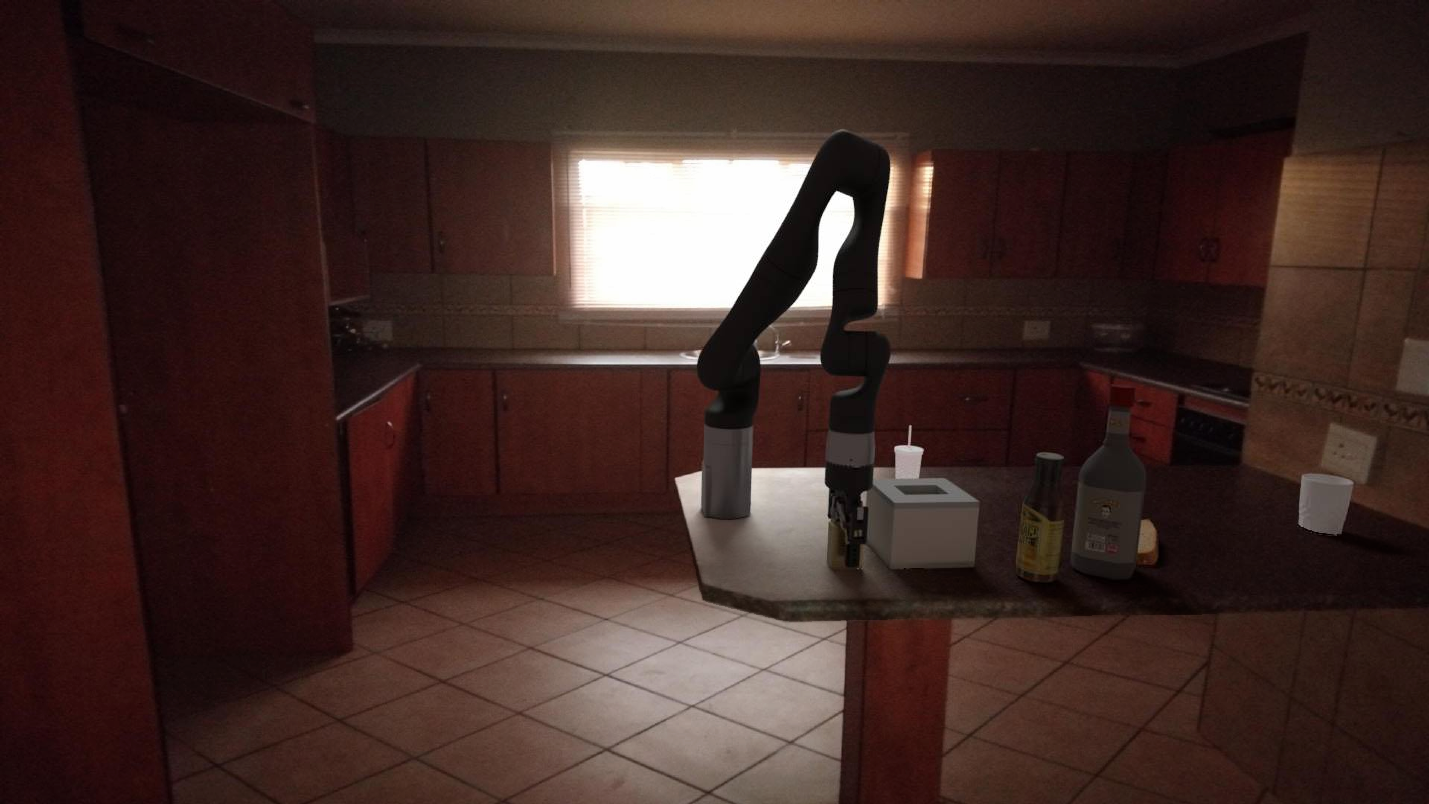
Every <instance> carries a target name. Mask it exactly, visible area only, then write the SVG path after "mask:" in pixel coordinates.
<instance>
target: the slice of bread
mask: <svg viewBox="0 0 1429 804" xmlns="http://www.w3.org/2000/svg"><path fill="white" fill-rule="evenodd" d="M1159 554H1160V553H1159V535H1158V531H1157V529H1156V526H1155V525H1154V523H1153V522H1152V521H1151V520H1150V519H1149V518H1148V519H1141V528H1140V536H1139V545H1138V553H1137V562H1136V564H1137V565H1136V566H1139V565H1153V564H1154V563H1157V562H1158V560H1159ZM1157 559H1158V560H1157ZM1156 561H1157V562H1156Z"/></svg>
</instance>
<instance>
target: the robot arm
mask: <svg viewBox="0 0 1429 804" xmlns="http://www.w3.org/2000/svg"><path fill="white" fill-rule="evenodd" d="M890 179H891V158H890V155H889V152H888V150H887V149H885V147H884V146H882V145H880V144H878V143H877V142H875V141H873V140H871V139H869V138H866V137H864V136H863V135H862V136H861V135H860V134H857V133H855V132H853V131H851V130H847V129H838V130H836V131H834V132H832V133H831V134H830V135H829V136H828V137H827V138H826V139H825V141H823V143H822V144H821V146H820V147H819V150H818V151H817V153H816V155H815V157H814V159H813V160H812V163H811V164H810V166H809V169H808V171H807V173H806V175H805V177H804V180H803V182H802V184H801V185H800V188H799V190H798V193H797V194H796V196H795V198H794V201H793V203H792V205H791V206H790V208H789V210H788V212H787V213H786V215H785V217H784V219H783V221H782V222H781V224H780V226H779V228H778V230H777V231H776V233H775V235H774V236H773V238H772V239H771V241H770V243H769V244H768V246H766V249H765V250H764V251H763V254H762V256H760V259H759V261H758V262H757V264H756V265H755V267H754V269H753V271H752V273H751V275H750V277H749V278H748V280H747V282H746V284H744V287H743V289H742V290H741V292H740V293H739V295H738V296H737V298H736V300H735V301H734V303H733V305H732V307H731V309H730V310H729V312H728V313H727V315H725V317H724V319H723V321H722V322H721V323H720V324H719V326H718V327H717V328H716V330H715V331H714V332H713V333H712V334H711V336H710V338H709V339H708V340H707V342H705V344H704V346H703V347H702V348H701V350H700V352H699V355H698V357H697V362H696V373H697V378H698V380H699V382H700V383H701V384H702V385H703V387H705V388H706V389H708V390H712V391H717V394H716V396H715V399H714V400H713V401H712V403H711V404H710V405H709V406H708V407H707V408H706V409H705V411H704V428H703V429H704V430H703V435H704V436H703V460H701V489H700V490H701V496H700V499H701V501H700V506H701V507H700V508H701V511H702V513H703V516H704V517H706V518H708V517H709V518H715V519H721V520H722V519H723V520H724V519H725V520H731V519H732V520H734V519H741V518H745V517H747V516H749V515H750V514H751V506H752V477H753V476H752V475H753V474H752V470H753V469H752V468H753V443H754V441H753V440H754V436H753V435H754V420H755V419H754V418H755V415H756V413H757V410H758V406H759V398H760V388H761V387H760V386H761V374H762V373H761V372H762V371H761V368H762V367H761V366H762V365H761V357H760V354H759V350H758V349H757V348H756V346H755V342H756V340H758V338H759V337H760V335H761V334H762V333H763V332H764V331H765V330H767V329H768V327H770V326H771V325H772V324H773V323H775V321H776V320H777V321H778V319H779V318H780V317H781V316H783V314H784V313H786V312H787V311H788V310H789V309H790V308H791V307H793V305H794V304H795V303H796V301H797V300H798V299H799V297H800V296H801V294H802V293H803V291H804V290H805V288H806V286H807V285H808V284H809V281H810V280H811V279H812V277H813V276H814V273H815V271H816V269H817V266H818V262H819V249H820V248H819V246H820V245H819V243H820V240H819V238H820V237H819V234H820V224H821V221H822V217H823V215H824V213H825V210H826V209H827V207H828V205H829V203H830V201H831V200H832V198H833V196H834V195H835V194H836V193H840V194H842V195H845V196H848V197H849V198H852V201H853V212H854V213H853V222H852V226H851V228H850V230H849V233H848V234H847V236H846V238H845V239H844V241H843V243H842V244H841V246H840V247H839V250H838V251H837V254H836V256H835V259H834V263H833V268H832V293H831V294H832V298H831V299H832V300H831V301H832V302H831V311H830V318H829V323H828V326H827V329H826V332H825V335H824V338H823V342H822V344H821V348H820V353H819V354H820V355H819V359H820V364H821V367H822V368H823V370H824V372H825V373H827V374H828V375H829V376H833V377H860V378H864V379H863V380H862V382H861V383H860V384H859V385H858V386H857V387H853V388H851V389H845V390H840V391H837V392H835V393H833V394H832V395H831V397H830V400H829V401H830V402H829V415H828V417H829V418H828V432H827V436H826V437H827V438H826V446H825V466H824V467H825V468H824V485H825V487H827V488H828V503H827V504H828V505H827V518H828V520H830V521H829V522H839V521H840V525H841V529H842V530H843V531H844V532H845V542H846V543H845V562H844V564H845V566H846V567H848V568H854V567H858V566H859V563H860V546H861V544H863V546H865V545H867V527H868V512H869V510H868V507H867V506H866V505H864V502H863V500H862V494H863V493H865V492H867V491H868V490H870V489H871V488H872V486H873V479H874V469H875V468H874V467H875V452H876V451H875V450H876V443H875V441H876V440H875V424H876V423H875V422H876V421H875V420H876V408H877V401H878V398H879V393H880V389H881V386H882V382H883V380H884V377H885V375H886V372H887V369H888V366H889V363H890V359H891V355H892V349H891V343H890V341H889V339H888V337H887V335H886V334H884V333H882V332H881V331H876V330H875V331H874V330H845V327H846V326H847V325H849V324H850V323H854V322H857V321H863V320H867V319H870V318H872V317H874V316H875V315H876V313H877V312H878V309H879V253H880V250H879V249H880V243H881V236H882V229H883V223H884V217H885V211H886V205H887V199H888V198H887V197H888V193H889V192H888V191H889V185H890ZM848 523H850V524H848ZM855 531H857V537H854V535H855Z"/></svg>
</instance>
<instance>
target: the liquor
mask: <svg viewBox="0 0 1429 804" xmlns="http://www.w3.org/2000/svg"><path fill="white" fill-rule="evenodd" d="M1108 389H1109V390H1108V397H1107V398H1108V399H1107V405H1108V406H1109V407H1108V413H1107V414H1108V417H1107V424H1106V431H1105V433H1106V434H1105V438H1104V440H1103V441H1102V442H1103V445H1101V446H1100V447H1099V448H1098V449H1097V450H1096V451H1095V452H1094V453H1093V454H1091V455H1090V456H1089V457H1088V458H1087V459H1086V461H1085V462H1084V463H1083V464H1082V466H1081V468H1080V470H1079V474H1078V483H1077V492H1076V493H1077V494H1076V502H1075V503H1076V504H1075V511H1074V512H1075V513H1074V522H1073V532H1072V542H1071V543H1072V544H1071V552H1070V562H1069V563H1070V564H1071V567H1072V568H1073V569H1074V570H1076V571H1078V572H1080V573H1082V574H1085V575H1089V576H1095V577H1098V578H1099V577H1100V578H1105V579H1110V580H1113V581H1118V580H1119V581H1120V580H1130V579H1131V577H1132V576H1133V574H1134V572H1135V569H1136V567H1137V565H1136V562H1137V553H1138V545H1139V536H1140V528H1141V520H1143V519H1142V516H1143V510H1144V499H1145V492H1146V484H1147V483H1146V482H1147V476H1148V474H1147V470H1146V467H1145V465H1144V464H1143V463H1142V461H1141V460H1140V459H1139V458H1138V456H1137V455H1136V454H1135V452H1134V451H1133V450H1132V448H1131V447H1130V440H1129V431H1130V423H1131V422H1130V420H1131V412H1132V408H1133V407H1134V406H1135V405H1134V404H1135V394H1136V386H1134V385H1130V384H1123V383H1121V384H1119V383H1117V384H1116V383H1115V384H1109V388H1108Z"/></svg>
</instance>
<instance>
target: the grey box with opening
mask: <svg viewBox="0 0 1429 804" xmlns="http://www.w3.org/2000/svg"><path fill="white" fill-rule="evenodd" d="M865 498H866V500H865V506H867V507H868V510H869V512H868V527H867V543H866V545H868V546H869V547H870V548H871V549H872V550H873V551H874V553H875V554H876V555H877V556H878V557H879V558H880V560H881V561H882V562H884V564H885V566H887V567H888V568H889V570H912V569H911V568H924V569H953V568H955V569H956V568H975V560H976V547H977V536H978V523H979V511H980V501H979V500H978V499H976V498H975V497H974V496H972V495H971V494H969V493H967V492H966V490H965V491H964V490H963V489H961V488H960V487H959V486H957V485H956V484H954V483H952V481H949V480H948V479H946V478H945V477H938V478H937V477H934V478H933V477H932V478H931V477H930V478H929V477H926V478H925V477H923V478H920V477H919V478H918V479H896V478H873V486H872V488H871V489H870V490H868V491H866V497H865ZM898 568H899V569H898ZM904 568H906V569H904ZM909 568H910V569H909Z"/></svg>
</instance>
